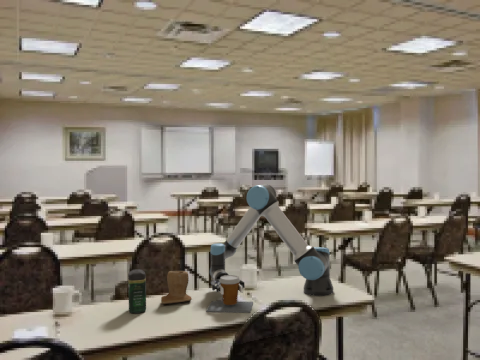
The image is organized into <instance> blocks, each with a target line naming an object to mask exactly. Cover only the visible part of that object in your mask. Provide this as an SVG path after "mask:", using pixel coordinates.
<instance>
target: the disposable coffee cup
mask: <svg viewBox="0 0 480 360" xmlns="http://www.w3.org/2000/svg"><path fill="white" fill-rule="evenodd" d="M240 280H241V279H240V276H238V275H235V274H229V275H225V276H222V277H221V278H220V283H221V286H222V287H223V291H224V295H222V294H221V295H222V296H221V297H222V301H223V303H224V304H226V305H234V304H236V303H237V301H238V296H239V290H238V288H239V282H240Z"/></svg>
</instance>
